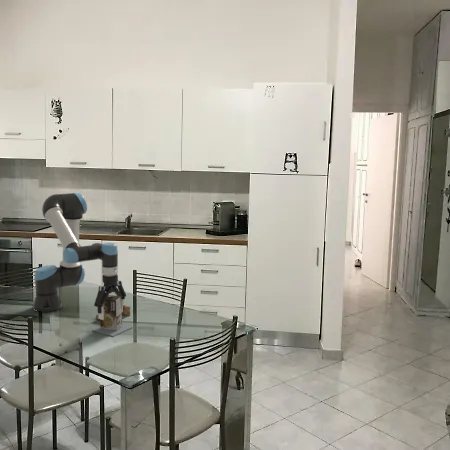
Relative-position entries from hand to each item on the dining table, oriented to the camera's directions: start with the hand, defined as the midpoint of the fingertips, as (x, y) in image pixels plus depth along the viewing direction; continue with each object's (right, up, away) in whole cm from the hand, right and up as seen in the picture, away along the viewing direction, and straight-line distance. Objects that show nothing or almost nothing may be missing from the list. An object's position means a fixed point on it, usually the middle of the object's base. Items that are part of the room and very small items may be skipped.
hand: (110, 315), depth 255 cm
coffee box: (0, -7, +1) cm, 7 cm away
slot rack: (-2, -4, +17) cm, 18 cm away
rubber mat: (+1, -7, +1) cm, 7 cm away
